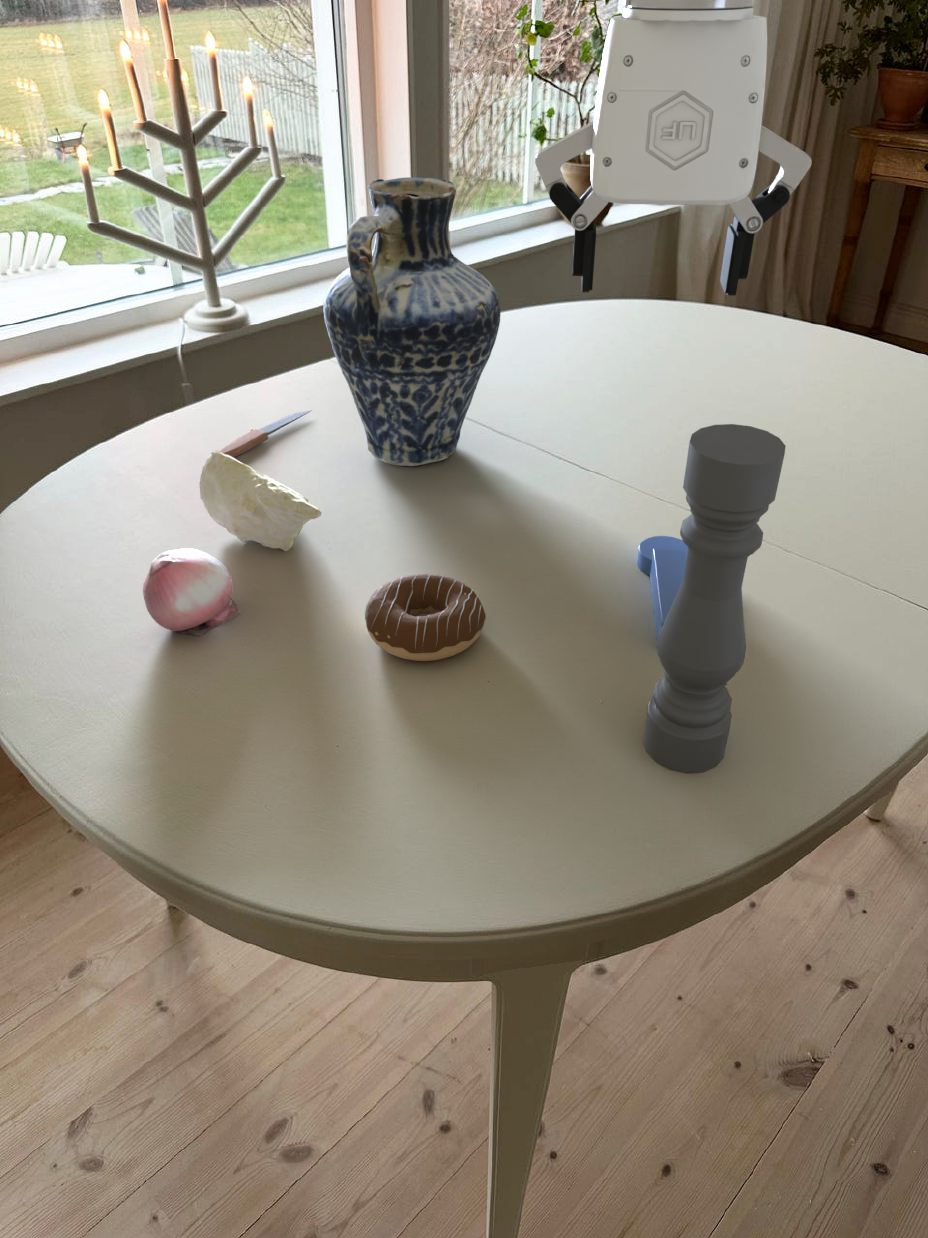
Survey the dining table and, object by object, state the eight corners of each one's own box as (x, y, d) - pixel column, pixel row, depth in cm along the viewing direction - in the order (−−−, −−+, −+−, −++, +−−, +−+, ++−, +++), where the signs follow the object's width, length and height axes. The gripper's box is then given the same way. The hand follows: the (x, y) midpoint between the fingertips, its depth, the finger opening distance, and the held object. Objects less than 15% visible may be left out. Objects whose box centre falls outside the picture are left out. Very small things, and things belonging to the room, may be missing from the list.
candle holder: (664, 780, 67) (715, 472, 53) (629, 725, 72) (668, 429, 58) (740, 763, 69) (811, 458, 54) (701, 710, 74) (756, 417, 59)
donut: (341, 636, 82) (337, 599, 80) (424, 586, 88) (423, 550, 86) (426, 688, 76) (424, 650, 74) (509, 630, 82) (510, 594, 80)
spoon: (706, 655, 79) (711, 625, 77) (645, 651, 80) (649, 622, 78) (687, 552, 93) (692, 524, 91) (635, 549, 93) (639, 522, 91)
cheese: (212, 521, 103) (148, 496, 88) (243, 463, 102) (184, 428, 88) (328, 585, 100) (283, 571, 86) (360, 526, 100) (321, 501, 85)
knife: (294, 402, 122) (312, 406, 120) (294, 409, 122) (312, 413, 121) (205, 450, 110) (224, 455, 109) (207, 458, 111) (226, 463, 109)
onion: (176, 592, 88) (160, 527, 84) (253, 600, 87) (241, 534, 82) (138, 643, 81) (119, 575, 77) (220, 651, 80) (206, 583, 76)
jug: (377, 409, 122) (360, 159, 104) (518, 428, 117) (525, 169, 99) (305, 478, 106) (271, 198, 89) (463, 504, 101) (461, 212, 83)
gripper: (538, -9, 51) (528, 302, 61) (859, -11, 50) (795, 308, 60) (543, -14, 57) (533, 270, 67) (829, -16, 56) (775, 275, 66)
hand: (656, 287), depth 64 cm, fingers open, 9 cm apart
